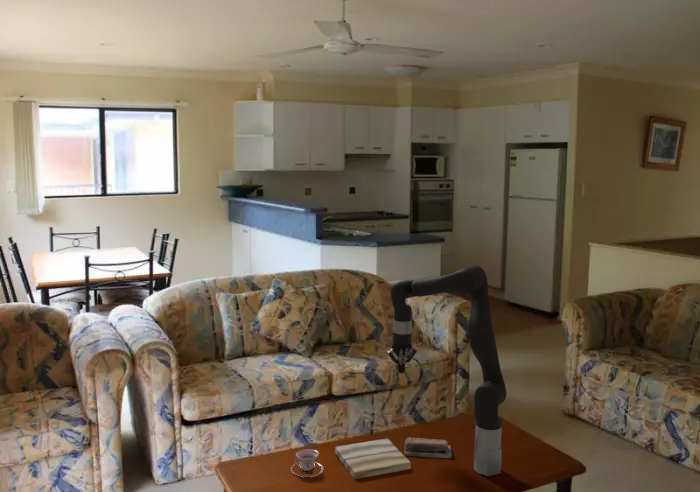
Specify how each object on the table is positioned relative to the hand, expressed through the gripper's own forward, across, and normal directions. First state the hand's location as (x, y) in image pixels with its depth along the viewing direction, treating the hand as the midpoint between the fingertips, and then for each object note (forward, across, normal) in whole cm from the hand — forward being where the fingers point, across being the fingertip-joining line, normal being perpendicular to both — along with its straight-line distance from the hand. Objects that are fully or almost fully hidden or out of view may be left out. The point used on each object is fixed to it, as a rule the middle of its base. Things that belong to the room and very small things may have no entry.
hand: (401, 372), depth 268 cm
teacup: (+27, -44, -14) cm, 53 cm away
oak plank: (+27, -19, -21) cm, 39 cm away
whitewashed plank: (+27, -19, -11) cm, 34 cm away
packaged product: (+28, +5, -15) cm, 32 cm away
